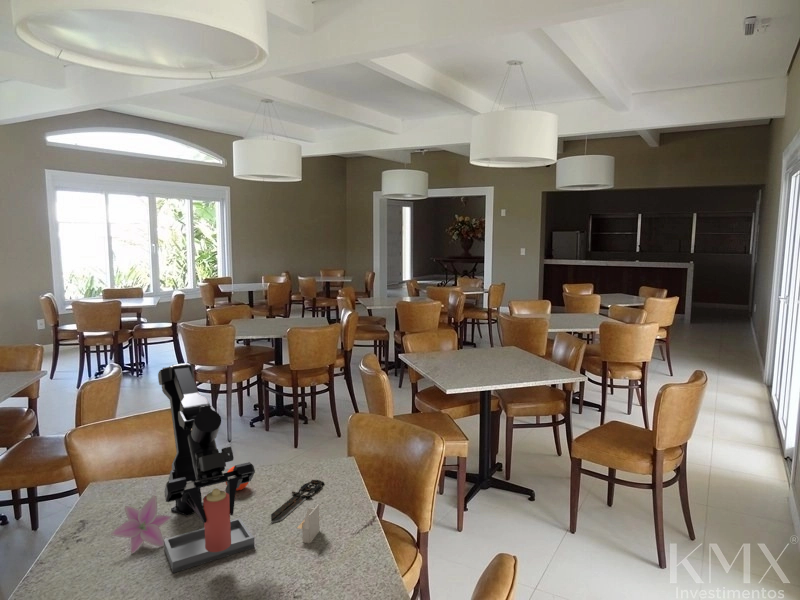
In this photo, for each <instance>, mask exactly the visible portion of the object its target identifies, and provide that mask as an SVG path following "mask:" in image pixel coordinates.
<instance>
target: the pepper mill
mask: <svg viewBox="0 0 800 600" xmlns="http://www.w3.org/2000/svg"><path fill="white" fill-rule="evenodd" d="M202 502H203V509H204V513H205V517H206V523H203V524H204V525H203V526H204V527H203V528H204V529H205V548H206V550H207V551H210V552H220V551H223V550H225V549H227V548H228V547H230V545H231V526H230V520H231V515H230V502H229V494H228V493H226V491H223V490H220V489H219V488H214V489H212V490H211V492H209V493H207V494H206V495H205V496H203V497H202Z"/></svg>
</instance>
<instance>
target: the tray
mask: <svg viewBox="0 0 800 600" xmlns="http://www.w3.org/2000/svg"><path fill="white" fill-rule="evenodd" d="M230 526H231V545H230V547H228V548H227V549H225V550H223V551H220V552H210V551H207V550H206V548H205V529H204V527H202V528H199V529H196V530H192V531H191V530H190V531H187V532H184V533H181V534H177V535H173V536H170V537H166V538H163V540H164V546H163V549H164V552H165V555H166V557H167V560H168V564H169V565H170V568H171V571H172V574H175V573H177V572H181V571H184V570H187V569H191V568H193V567H197V566H200V565H203V564H206V563H209V562H213V561H216V560H219V559H222V558H225V557H229V556H232V555H235V554H238V553H242V552H244V551H247V550H251V549H254V548H255V537H254V535H253V534H252V532H251V531H250V529H249V528H248V527H247V525H246V524H245V522H244V521H243V519H242V518H241V517H238V518H233V519H230Z"/></svg>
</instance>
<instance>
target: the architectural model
mask: <svg viewBox="0 0 800 600" xmlns="http://www.w3.org/2000/svg"><path fill="white" fill-rule="evenodd" d="M320 518H321V515H320V504H317V505H316V506H314V507H307V511H306V514H305V518H304V519H303V520H302V522H301V523H300V524H299V525H298V526H297V527H296V531H297V530H298V531H302V543H303V544H311V543H312V541H313V540H314V539H315V538H316V536H317V535H318V534H319V533H320V530H321V529H320Z"/></svg>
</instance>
